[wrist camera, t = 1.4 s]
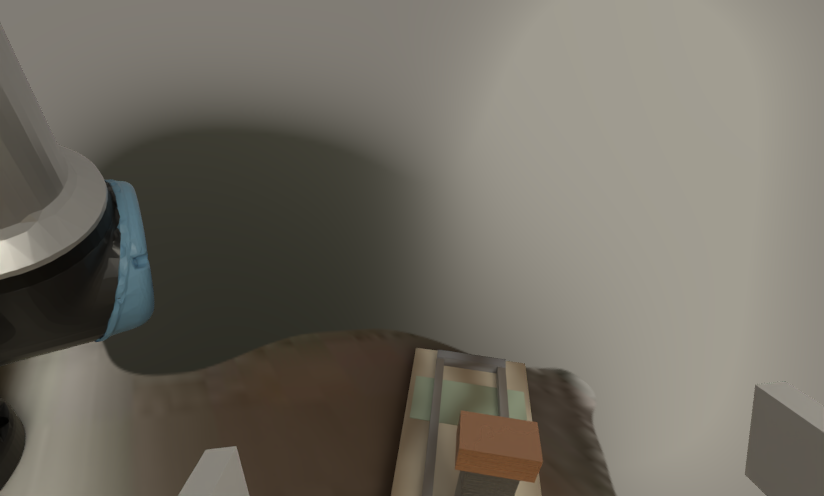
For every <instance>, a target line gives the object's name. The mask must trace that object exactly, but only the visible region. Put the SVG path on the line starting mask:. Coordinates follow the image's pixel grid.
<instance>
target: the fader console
mask: <svg viewBox="0 0 824 496" xmlns="http://www.w3.org/2000/svg"><path fill="white" fill-rule="evenodd" d="M461 410H462V411H468V412H475V413H481V414H488V415H494V416H500V417H507V418H513V419H519V420H526V421H532V416H531V408H530V400H529V392H528V384H527V376H526V368H525V364H523V363H517V362H510V361H505V359H498V358H492V357H484V356H478V355H471V354H464V353H458V352H451V351H444V350H438V351H435V350H428V349H422V348H416V351H415V357H414V363H413V369H412V375H411V380H410V386H409V392H408V398H407V404H406V410H405V416H404V422H403V427H402V433H401V439H400V445H399V451H398V457H397V463H396V469H395V474H394V480H393V486H392V492H391V496H454V495H455V490H456V486H457V482H458V477H459V473H460V470H455V452H456V431H457V426H458V422H459V417H460V412H461ZM514 496H542V495H541V487H540V479H539V473H538V475H537V478H536V480H535V483H532V482H526V481H520V482H519V485H518V487H517V490H516V493H515V495H514Z"/></svg>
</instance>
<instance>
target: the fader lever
mask: <svg viewBox="0 0 824 496" xmlns="http://www.w3.org/2000/svg"><path fill="white" fill-rule="evenodd" d="M542 463H543V459H542V452H541V445H540V438H539V430H538V423H537V422H532V421H526V420H519V419H513V418H507V417H500V416H494V415H488V414H481V413H475V412H468V411H462V410H461V412H460V417H459V422H458V426H457V431H456V452H455V470H460V473H459V477H458V482H457V486H456V490H455V495H454V496H514V495H515V493H516V490H517V487H518V485H519V482H520V481H526V482H532V483H535V480H536V478H537V475H538V473H539V470H540V468H541V465H542Z"/></svg>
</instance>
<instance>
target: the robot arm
mask: <svg viewBox="0 0 824 496" xmlns="http://www.w3.org/2000/svg"><path fill="white" fill-rule="evenodd" d="M147 257H148V253H147V247H146V239H145V234H144V228H143V223H142V218H141V213H140V209H139V204H138V200H137V196H136V193H135V190H134V188H133V186H132V185H131V184H129V183H127V182H125V181H115V180H112V179H111V180H104V178H103V176H102V175H101V173H100V172H99V170H98V169H97V167H96V166H95V165H94V164H93V163H92V162H91V161H90V160H89V159H87V158H86V157H84V156H83V155H81V154H80V153H78V152H76V151H74V150H72V149H70V148H67V147H64V146H62V145H59V144H57V142H56V140H55V138H54V135H53V133H52V131H51V129H50V127H49V125H48V123H47V121H46V119H45V116H44V115H43V112H42V110H41V108H40V106H39V104H38V101H37V100H36V97H35V95H34V93H33V91H32V89H31V87H30V85H29V83H28V81H27V78H26V76H25V74H24V72H23V70H22V68H21V65H20V63H19V61H18V59H17V57H16V55H15V53H14V51H13V48H12V46H11V44H10V42H9V40H8V38H7V36H6V34H5V32H4V29H3V27H2V25H1V23H0V366H3V365H6V364H10V363H14V362H17V361H21V360H25V359H28V358H32V357H36V356H39V355H43V354H47V353H51V352H54V351H58V350H62V349H66V348H70V347H74V346H77V345H81V344H85V343H89V342H93V341H95V342H99V341H103V340H106V339H107V338H109V337H110V336H111V335H114V334H117V333H121V332H124V331H127V330H130V329H133V328H136V327H139V326H141V325H143V324H144V323H145V322H147V321H148V320H149V318H150V317H151V315H152V313H153V311H154V291H153V283H152V276H151V270H150V265H149V261H148V258H147ZM24 444H25V431H24V427H23V424H22V422H21V421H20V419H19V418H18V416H17V415H16V413H15V412H14V410H13V409H12V407H11V406H10V405H9V404H8V403H7V402H6V401H5V400H3V399H2V398H1V397H0V490H1V489H2V487H3V486H4V485H5V483H6V482H7V481H8V479H9V478H10V476H11V475H12V473H13V471H14V470H15V468H16V466H17V464H18V462H19V460H20V457H21V455H22V452H23V448H24ZM745 475H746V476H747V477H748V478H749V479H750V480H751V481H752V482H753V483H754V484H755V485H756V486H757V487H758V488H759V489H760V490H761V491H762V492H763V493H764V494H765V495H767V496H824V405H822V404H821V403H819V402H818V401H816V400H814V399H813V398H811V397H810V396H808V395H807V394H805V393H803V392H802V391H800V390H799V389H797V388H795V387H794V386H792V385H791V384H789V383H788V382H786V381H782V382H774V383H766V384H757V385H755V392H754V401H753V409H752V419H751V426H750V435H749V443H748V452H747V461H746V469H745ZM178 496H249V493H248V489H247V485H246V481H245V477H244V473H243V470H242V466H241V462H240V458H239V454H238V451H237V447H236V446H233V447H225V448H216V449H208V450H205V452H204V454H203V455H202V457H201V459H200V460H199V462H198V464H197V465H196V467H195V468H194V470H193V472H192V473H191V475H190V477H189V478H188V480H187V482H186V483H185V485H184V487H183V488H182V490H181V492H180V493H179V495H178Z"/></svg>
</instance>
